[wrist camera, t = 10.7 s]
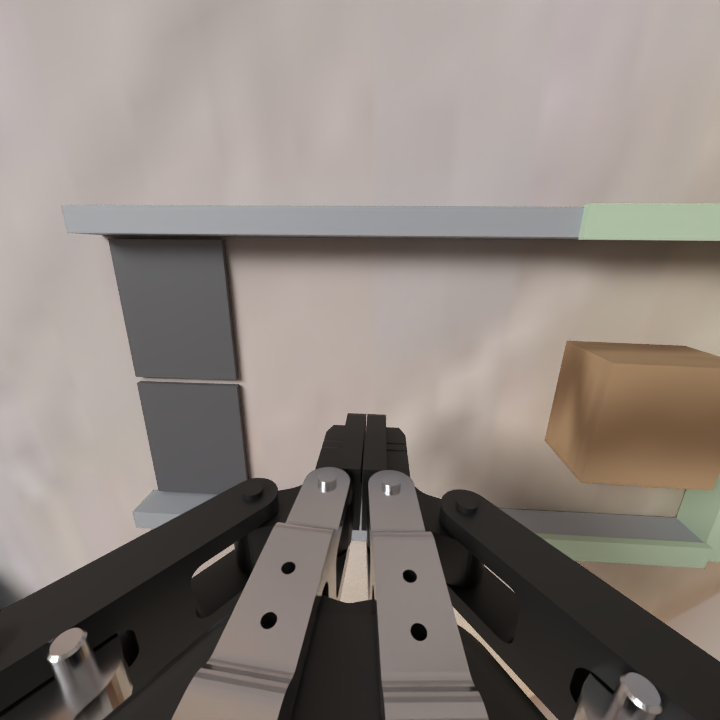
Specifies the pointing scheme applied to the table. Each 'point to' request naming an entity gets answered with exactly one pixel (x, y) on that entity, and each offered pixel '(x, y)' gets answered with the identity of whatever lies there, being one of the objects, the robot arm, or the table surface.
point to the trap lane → (218, 357)
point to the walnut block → (638, 415)
